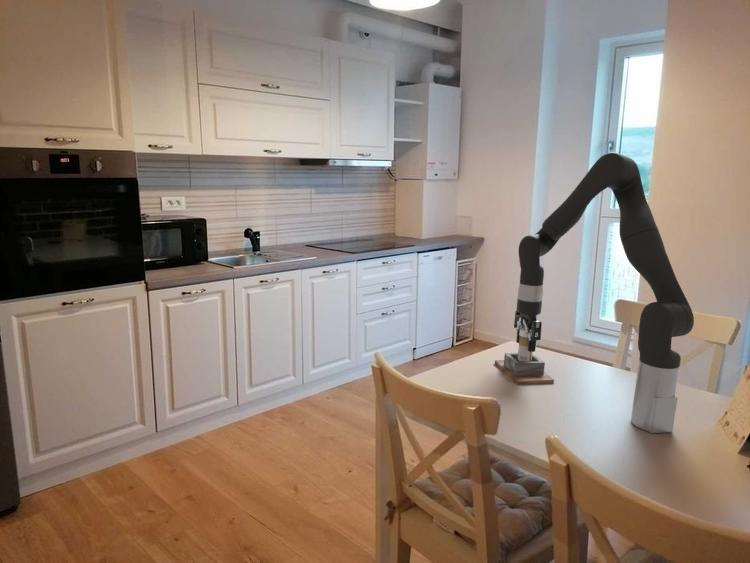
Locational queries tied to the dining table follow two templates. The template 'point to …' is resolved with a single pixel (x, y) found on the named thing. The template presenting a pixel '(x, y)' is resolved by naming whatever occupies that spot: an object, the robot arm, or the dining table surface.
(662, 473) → the dining table surface
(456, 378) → the dining table surface
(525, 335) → the sprinkles bottle
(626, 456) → the dining table surface
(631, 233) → the robot arm
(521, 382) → the socket holder
